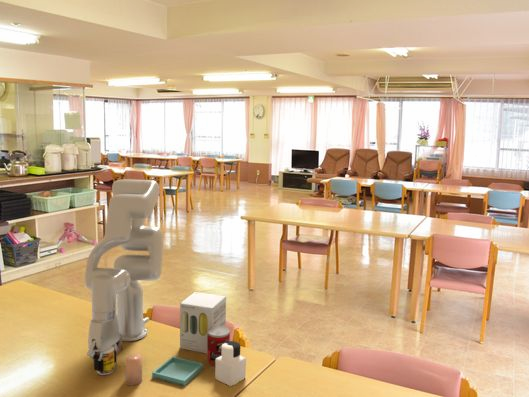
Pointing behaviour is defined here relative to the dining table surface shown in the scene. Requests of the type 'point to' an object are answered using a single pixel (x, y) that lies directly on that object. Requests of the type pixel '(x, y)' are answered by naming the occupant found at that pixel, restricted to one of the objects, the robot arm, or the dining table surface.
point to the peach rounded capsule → (133, 369)
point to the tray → (177, 371)
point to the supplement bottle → (107, 361)
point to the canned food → (216, 342)
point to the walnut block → (119, 346)
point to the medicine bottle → (230, 364)
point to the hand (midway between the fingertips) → (105, 365)
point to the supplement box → (200, 319)
